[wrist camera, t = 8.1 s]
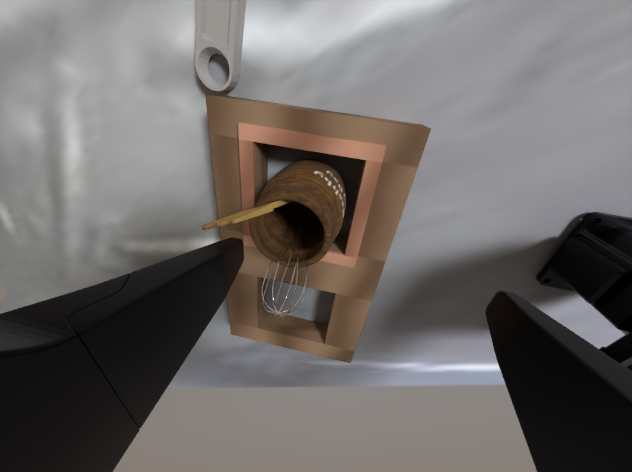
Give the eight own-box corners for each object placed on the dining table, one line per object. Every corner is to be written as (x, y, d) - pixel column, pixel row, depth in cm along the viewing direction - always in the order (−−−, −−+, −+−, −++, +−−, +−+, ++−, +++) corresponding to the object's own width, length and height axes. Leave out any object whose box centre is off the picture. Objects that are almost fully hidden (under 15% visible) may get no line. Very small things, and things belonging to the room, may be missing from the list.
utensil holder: (291, 230, 22) (227, 346, 12) (265, 163, 19) (152, 237, 9) (354, 218, 20) (344, 342, 10) (336, 142, 17) (297, 206, 7)
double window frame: (421, 124, 16) (432, 129, 13) (351, 343, 28) (350, 365, 26) (225, 95, 17) (202, 95, 15) (240, 317, 30) (229, 336, 27)
